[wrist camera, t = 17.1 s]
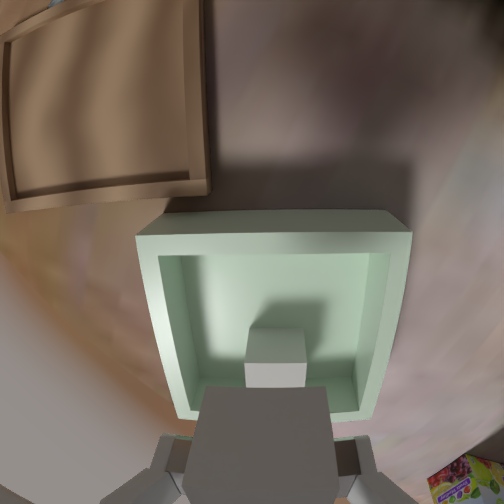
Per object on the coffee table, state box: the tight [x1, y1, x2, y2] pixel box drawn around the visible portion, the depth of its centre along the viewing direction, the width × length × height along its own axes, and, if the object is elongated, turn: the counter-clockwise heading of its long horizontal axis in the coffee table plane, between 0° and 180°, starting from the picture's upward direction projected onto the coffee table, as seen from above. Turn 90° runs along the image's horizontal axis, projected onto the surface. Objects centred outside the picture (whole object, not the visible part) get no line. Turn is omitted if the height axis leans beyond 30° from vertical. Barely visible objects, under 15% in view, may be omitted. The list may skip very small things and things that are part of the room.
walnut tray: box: [0, 0, 212, 214], centre depth 18 cm, size 18×16×2 cm
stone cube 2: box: [181, 386, 340, 504], centre depth 9 cm, size 4×4×4 cm
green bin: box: [135, 209, 413, 422], centre depth 21 cm, size 15×15×5 cm
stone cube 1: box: [244, 328, 307, 388], centre depth 22 cm, size 4×4×4 cm
